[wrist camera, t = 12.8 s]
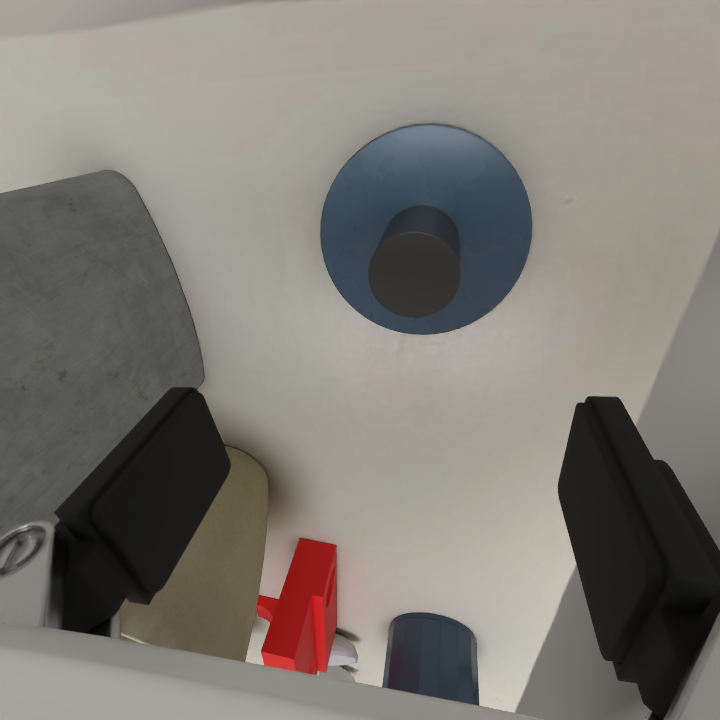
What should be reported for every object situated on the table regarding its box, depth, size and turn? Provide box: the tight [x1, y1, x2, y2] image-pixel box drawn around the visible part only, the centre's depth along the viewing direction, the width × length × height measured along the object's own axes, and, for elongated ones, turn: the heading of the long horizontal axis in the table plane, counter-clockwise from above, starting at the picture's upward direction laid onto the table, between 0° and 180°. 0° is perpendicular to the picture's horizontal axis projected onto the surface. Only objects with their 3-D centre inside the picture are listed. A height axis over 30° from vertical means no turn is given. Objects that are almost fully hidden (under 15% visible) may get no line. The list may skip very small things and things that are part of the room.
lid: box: [320, 123, 532, 335], centre depth 20 cm, size 11×11×6 cm
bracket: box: [256, 538, 337, 675], centre depth 42 cm, size 18×10×10 cm
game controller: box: [317, 633, 358, 682], centre depth 54 cm, size 14×4×10 cm
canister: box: [382, 613, 479, 706], centre depth 43 cm, size 10×10×12 cm
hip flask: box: [0, 170, 204, 535], centre depth 19 cm, size 16×4×20 cm, turn 5°
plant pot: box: [120, 446, 268, 662], centre depth 31 cm, size 15×15×16 cm
